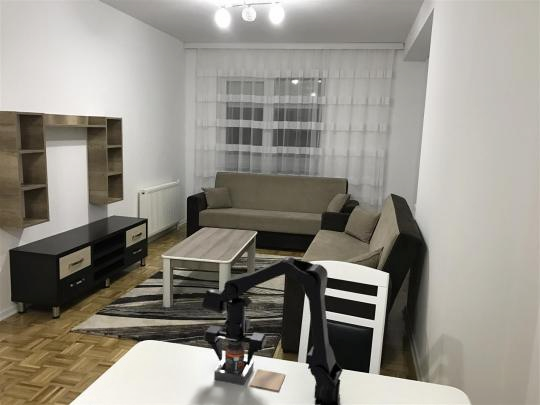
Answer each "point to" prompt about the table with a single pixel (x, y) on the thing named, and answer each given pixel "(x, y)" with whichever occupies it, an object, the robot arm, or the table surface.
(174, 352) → the table surface
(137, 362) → the table surface
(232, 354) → the supplement bottle
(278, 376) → the pad
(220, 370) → the collar
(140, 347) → the table surface
